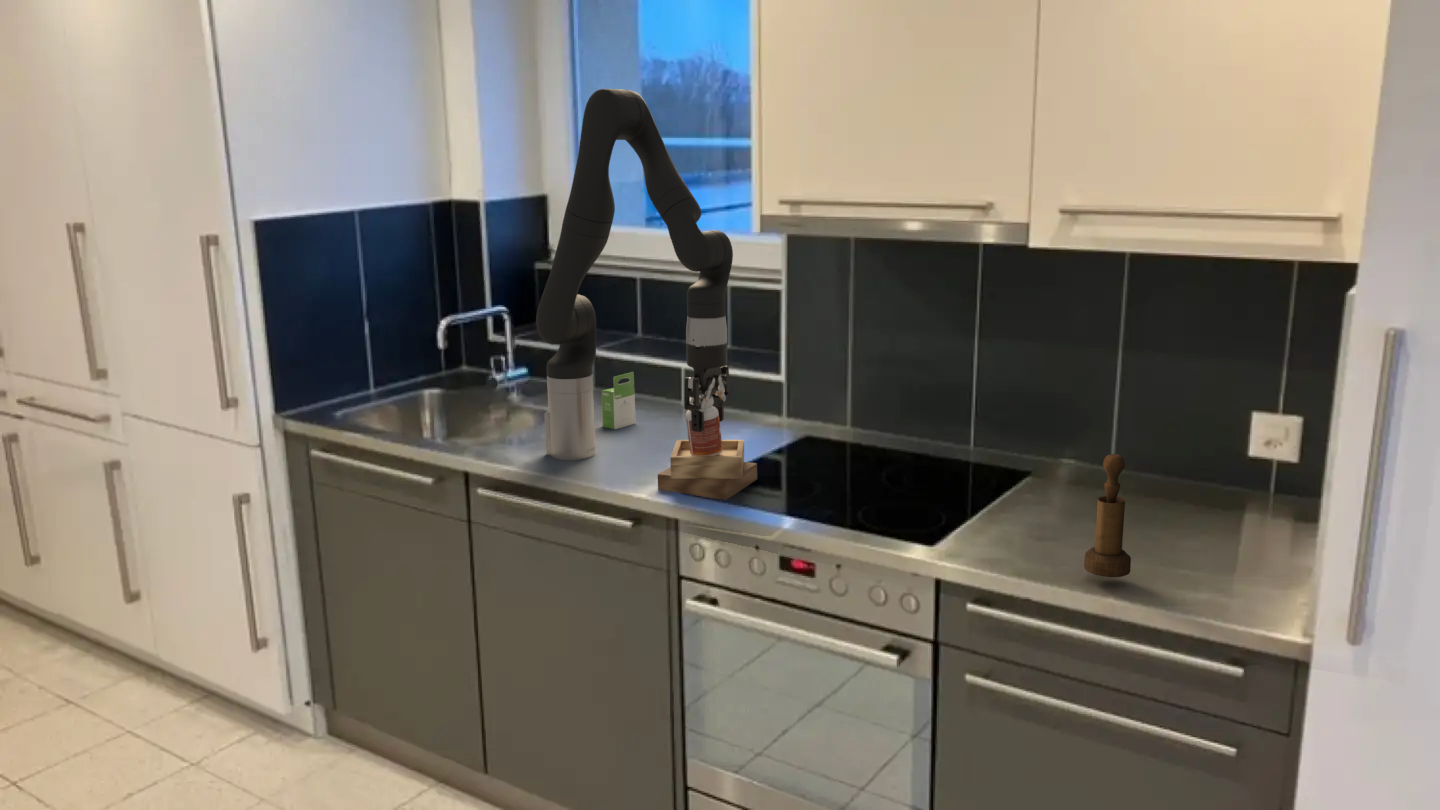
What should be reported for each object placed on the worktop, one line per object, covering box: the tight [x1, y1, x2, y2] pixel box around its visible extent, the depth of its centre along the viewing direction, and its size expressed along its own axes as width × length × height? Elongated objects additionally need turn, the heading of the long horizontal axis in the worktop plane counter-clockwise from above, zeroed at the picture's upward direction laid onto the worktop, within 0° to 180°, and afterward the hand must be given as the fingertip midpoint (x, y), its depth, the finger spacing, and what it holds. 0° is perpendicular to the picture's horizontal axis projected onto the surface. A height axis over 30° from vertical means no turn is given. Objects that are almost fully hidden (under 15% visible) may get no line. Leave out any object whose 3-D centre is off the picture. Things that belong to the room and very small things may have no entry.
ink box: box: [601, 371, 637, 430], centre depth 266 cm, size 7×4×13 cm, turn 141°
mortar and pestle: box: [1083, 453, 1132, 578], centre depth 178 cm, size 7×6×18 cm
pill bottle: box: [685, 395, 723, 456], centre depth 223 cm, size 6×6×11 cm
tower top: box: [670, 439, 745, 479], centre depth 225 cm, size 13×13×4 cm
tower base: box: [657, 461, 758, 501], centre depth 226 cm, size 14×14×4 cm
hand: (707, 426), depth 223 cm, fingers open, 8 cm apart
